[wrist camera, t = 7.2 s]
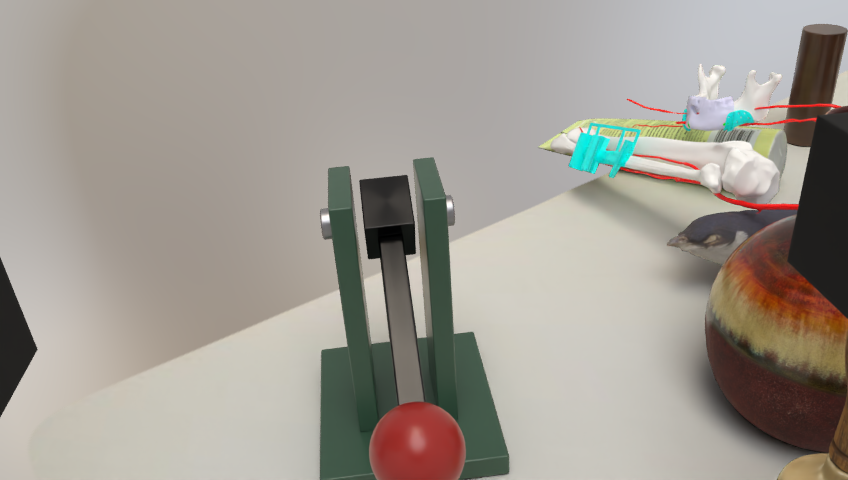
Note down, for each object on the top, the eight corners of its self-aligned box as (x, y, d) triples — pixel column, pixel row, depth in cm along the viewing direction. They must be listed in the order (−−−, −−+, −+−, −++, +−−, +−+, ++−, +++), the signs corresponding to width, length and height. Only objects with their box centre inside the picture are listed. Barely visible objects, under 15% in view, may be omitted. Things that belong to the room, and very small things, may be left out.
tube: (777, 204, 60) (562, 168, 72) (794, 145, 60) (578, 119, 72) (764, 181, 55) (537, 147, 67) (782, 118, 56) (554, 95, 67)
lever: (471, 507, 28) (475, 477, 25) (376, 520, 28) (370, 491, 25) (423, 213, 36) (422, 164, 33) (349, 220, 36) (342, 172, 33)
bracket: (509, 474, 36) (507, 223, 29) (322, 498, 35) (275, 248, 28) (474, 347, 45) (465, 130, 38) (323, 365, 44) (287, 149, 37)
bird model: (940, 290, 46) (964, 219, 44) (672, 307, 46) (681, 238, 44) (898, 253, 50) (918, 187, 48) (652, 270, 50) (658, 204, 48)
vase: (655, 361, 42) (685, 101, 35) (817, 318, 45) (878, 67, 37) (793, 510, 33) (876, 199, 25) (988, 444, 36) (1116, 144, 28)
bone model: (540, 163, 64) (562, 43, 62) (714, 188, 71) (738, 81, 69) (765, 220, 41) (811, 32, 39) (987, 248, 48) (1034, 91, 46)
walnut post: (779, 143, 67) (800, 32, 62) (785, 130, 70) (805, 22, 65) (821, 149, 66) (845, 35, 61) (825, 135, 68) (849, 25, 63)
